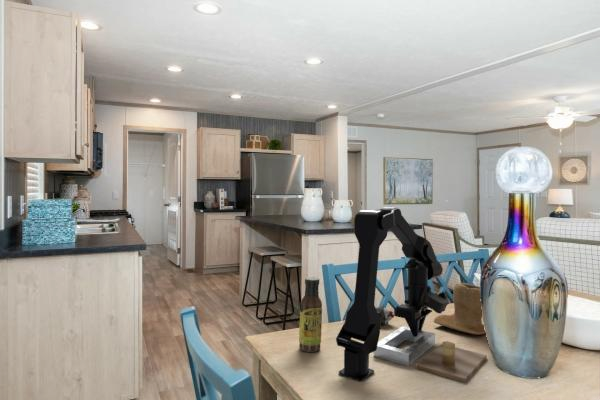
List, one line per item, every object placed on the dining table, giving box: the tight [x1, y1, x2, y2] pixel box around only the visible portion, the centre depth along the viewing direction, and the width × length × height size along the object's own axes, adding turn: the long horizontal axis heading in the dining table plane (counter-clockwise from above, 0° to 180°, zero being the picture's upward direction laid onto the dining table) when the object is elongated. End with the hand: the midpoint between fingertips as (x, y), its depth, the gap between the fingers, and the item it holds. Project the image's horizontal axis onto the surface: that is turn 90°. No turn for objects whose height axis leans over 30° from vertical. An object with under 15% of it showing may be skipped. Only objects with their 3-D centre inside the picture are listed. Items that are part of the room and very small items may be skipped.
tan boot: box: [433, 282, 486, 336], centre depth 130 cm, size 15×12×15 cm
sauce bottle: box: [298, 276, 323, 353], centre depth 113 cm, size 6×6×20 cm
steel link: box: [373, 325, 436, 367], centre depth 112 cm, size 18×10×3 cm, turn 141°
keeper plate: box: [415, 341, 488, 384], centre depth 104 cm, size 18×12×6 cm, turn 141°
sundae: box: [375, 304, 395, 326], centre depth 135 cm, size 7×7×15 cm
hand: (416, 335), depth 118 cm, fingers closed on steel link, 2 cm apart
